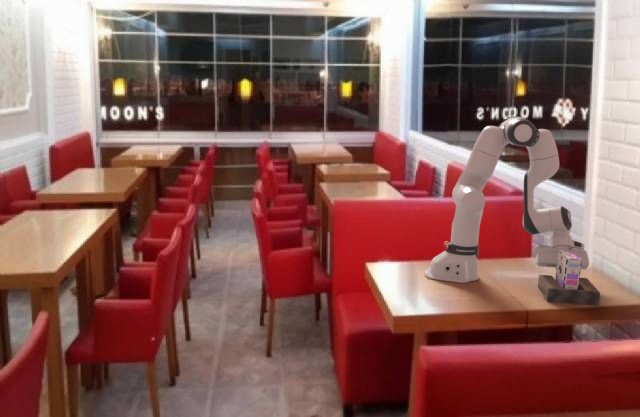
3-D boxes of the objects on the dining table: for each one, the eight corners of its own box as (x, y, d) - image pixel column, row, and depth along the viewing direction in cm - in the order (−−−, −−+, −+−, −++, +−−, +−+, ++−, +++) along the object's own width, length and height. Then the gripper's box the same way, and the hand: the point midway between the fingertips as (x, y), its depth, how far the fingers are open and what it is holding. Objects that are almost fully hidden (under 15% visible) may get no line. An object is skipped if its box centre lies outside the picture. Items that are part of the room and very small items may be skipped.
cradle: (547, 301, 255) (548, 288, 254) (537, 286, 273) (538, 274, 272) (598, 305, 253) (600, 292, 252) (585, 289, 271) (586, 278, 270)
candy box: (577, 301, 257) (582, 259, 254) (561, 300, 257) (566, 258, 254) (568, 290, 270) (573, 250, 267) (553, 288, 271) (558, 249, 268)
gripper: (536, 240, 276) (538, 270, 268) (588, 244, 274) (592, 274, 266) (533, 248, 281) (535, 278, 274) (584, 251, 279) (587, 281, 272)
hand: (563, 276), depth 270 cm, fingers closed, pressing on candy box
